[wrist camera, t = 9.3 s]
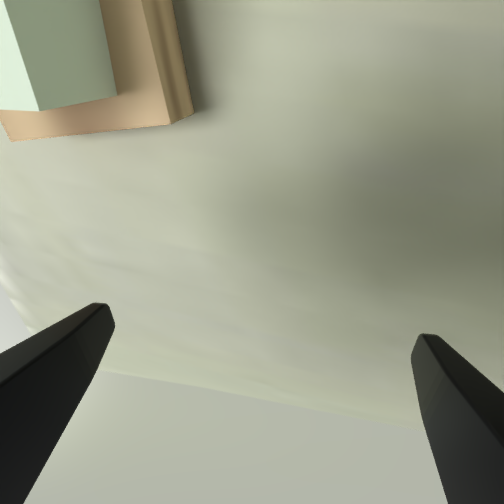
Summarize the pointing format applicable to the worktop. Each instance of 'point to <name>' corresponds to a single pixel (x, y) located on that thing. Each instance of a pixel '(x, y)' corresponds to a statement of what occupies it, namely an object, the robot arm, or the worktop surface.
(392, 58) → the worktop surface
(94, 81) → the sage block
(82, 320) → the robot arm
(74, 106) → the oak block
